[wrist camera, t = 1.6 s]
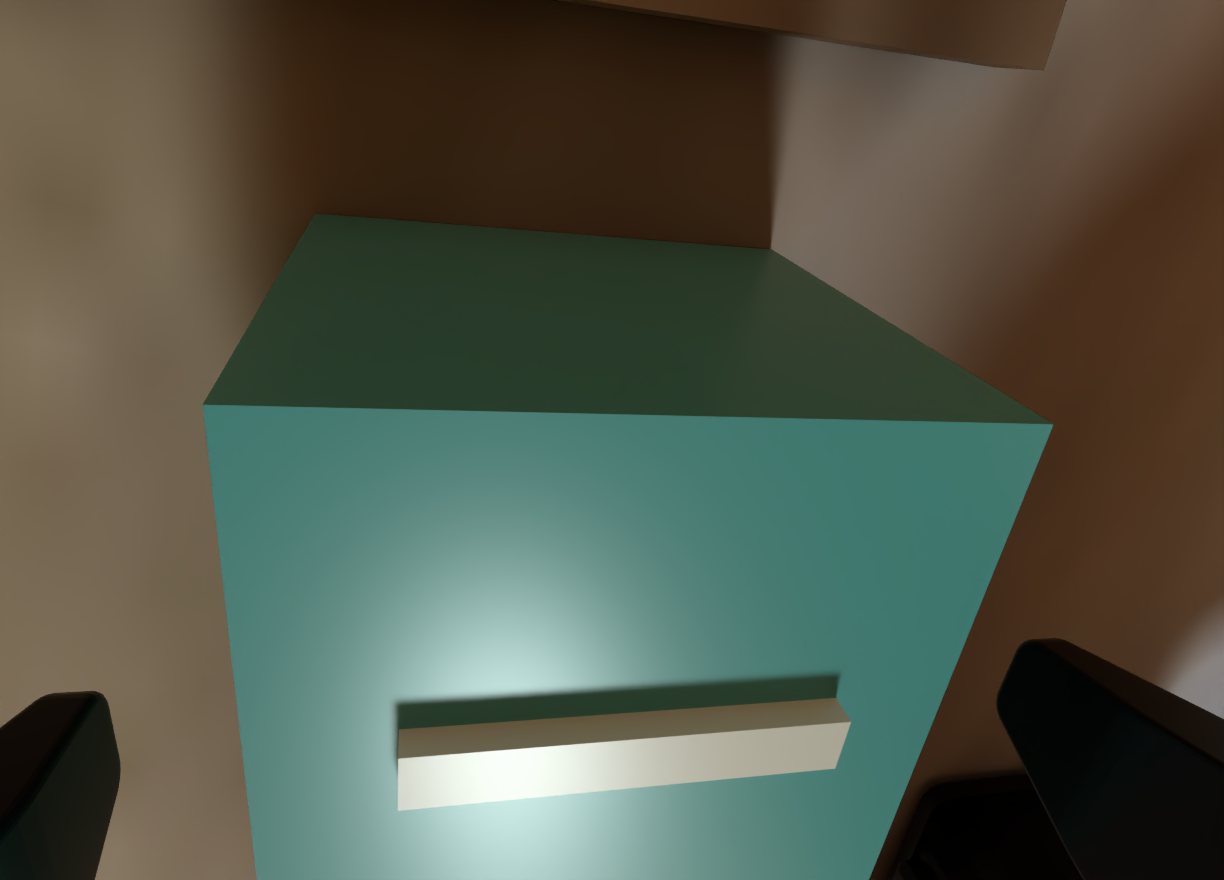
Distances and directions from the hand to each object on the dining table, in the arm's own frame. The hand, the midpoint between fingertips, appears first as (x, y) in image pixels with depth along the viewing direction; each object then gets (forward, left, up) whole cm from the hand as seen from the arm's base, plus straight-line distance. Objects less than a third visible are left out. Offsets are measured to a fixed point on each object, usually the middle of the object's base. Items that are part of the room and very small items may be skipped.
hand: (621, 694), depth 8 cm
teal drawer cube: (0, 0, -5) cm, 5 cm away
